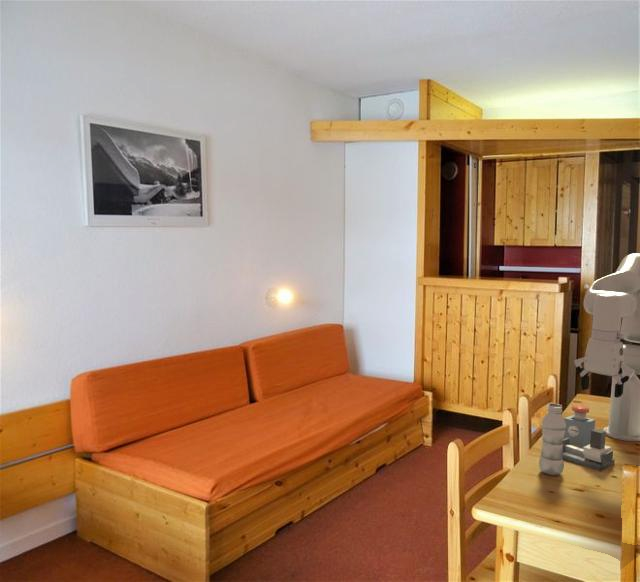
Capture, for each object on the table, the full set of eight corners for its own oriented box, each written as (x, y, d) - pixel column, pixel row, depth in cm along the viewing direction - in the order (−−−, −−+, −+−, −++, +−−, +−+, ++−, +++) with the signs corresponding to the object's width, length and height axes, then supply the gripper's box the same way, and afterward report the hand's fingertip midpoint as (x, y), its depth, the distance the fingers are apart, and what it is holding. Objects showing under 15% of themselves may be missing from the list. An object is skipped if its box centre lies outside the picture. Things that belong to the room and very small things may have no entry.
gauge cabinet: (573, 437, 203) (574, 414, 202) (593, 443, 198) (595, 419, 197) (561, 441, 198) (563, 418, 197) (582, 448, 193) (584, 423, 192)
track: (569, 450, 190) (570, 436, 190) (614, 464, 180) (615, 449, 179) (555, 456, 185) (556, 442, 184) (600, 471, 174) (601, 456, 174)
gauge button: (575, 418, 201) (576, 404, 201) (591, 423, 197) (592, 408, 197) (568, 421, 198) (569, 407, 197) (583, 426, 194) (584, 410, 193)
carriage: (593, 453, 183) (595, 426, 183) (610, 458, 180) (612, 430, 179) (582, 458, 179) (584, 430, 178) (599, 463, 175) (601, 435, 174)
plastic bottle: (565, 479, 168) (570, 409, 166) (539, 476, 169) (544, 407, 167) (560, 470, 174) (565, 403, 172) (536, 467, 175) (540, 401, 173)
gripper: (642, 339, 171) (637, 397, 173) (583, 330, 185) (579, 385, 186) (630, 341, 167) (625, 401, 168) (570, 332, 180) (566, 388, 181)
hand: (601, 393), depth 177 cm, fingers open, 9 cm apart
